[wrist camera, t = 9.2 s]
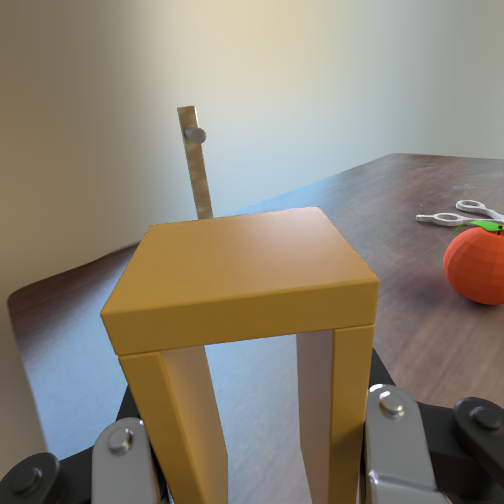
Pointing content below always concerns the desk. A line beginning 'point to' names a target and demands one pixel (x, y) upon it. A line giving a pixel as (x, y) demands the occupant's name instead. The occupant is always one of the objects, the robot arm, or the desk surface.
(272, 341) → the desk surface
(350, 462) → the yellow goalpost frame
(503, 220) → the scissors
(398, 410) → the robot arm
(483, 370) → the desk surface
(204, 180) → the rack
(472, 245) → the clementine
